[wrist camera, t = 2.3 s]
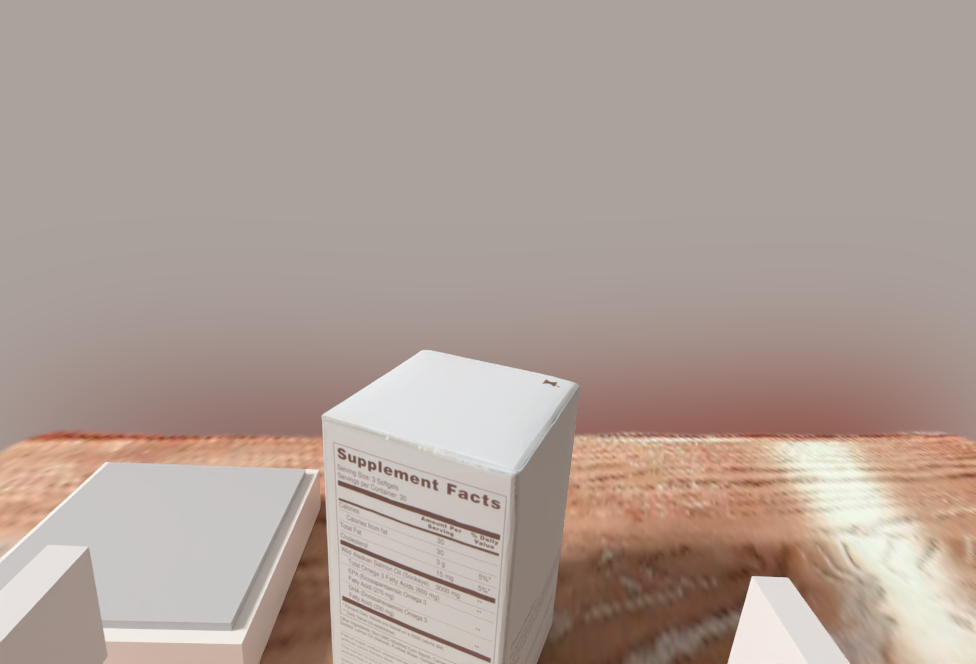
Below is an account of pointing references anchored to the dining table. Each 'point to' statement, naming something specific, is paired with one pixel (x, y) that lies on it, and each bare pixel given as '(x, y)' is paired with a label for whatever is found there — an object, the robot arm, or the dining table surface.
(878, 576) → the dining table surface
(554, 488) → the supplement box
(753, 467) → the dining table surface
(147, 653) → the pedestal
